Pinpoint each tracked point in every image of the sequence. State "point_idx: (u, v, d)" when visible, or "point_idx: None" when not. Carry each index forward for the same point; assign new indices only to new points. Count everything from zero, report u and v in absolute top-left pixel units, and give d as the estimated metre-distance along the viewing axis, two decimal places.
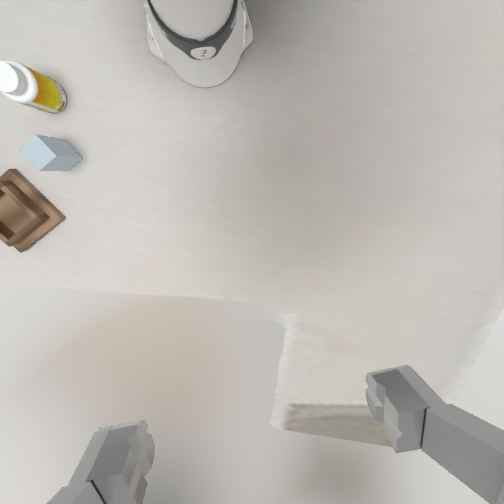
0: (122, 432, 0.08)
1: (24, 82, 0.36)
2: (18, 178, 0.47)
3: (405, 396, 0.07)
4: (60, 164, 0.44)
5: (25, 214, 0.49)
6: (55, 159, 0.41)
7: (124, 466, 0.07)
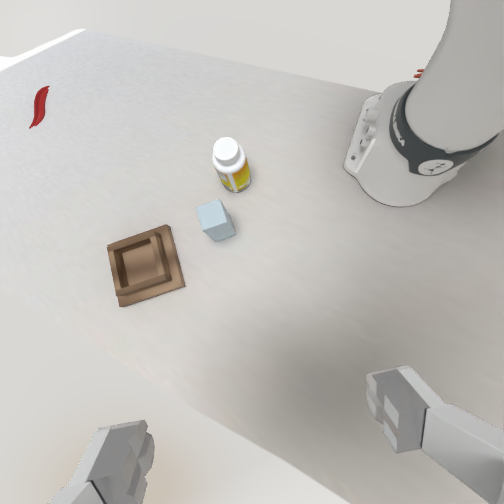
0: (122, 432, 0.08)
1: (237, 157, 0.38)
2: (168, 234, 0.45)
3: (405, 396, 0.07)
4: (218, 232, 0.40)
5: (151, 269, 0.44)
6: (222, 225, 0.38)
7: (124, 466, 0.07)
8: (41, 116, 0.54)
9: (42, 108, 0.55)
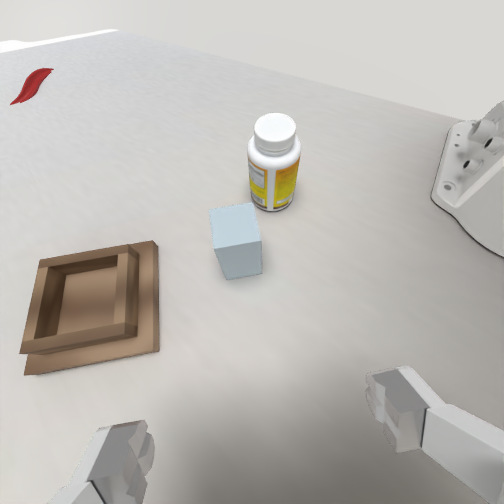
0: (122, 432, 0.08)
1: (291, 145, 0.23)
2: (151, 256, 0.27)
3: (405, 396, 0.07)
4: (238, 261, 0.23)
5: (106, 310, 0.25)
6: (251, 245, 0.21)
7: (124, 466, 0.07)
8: (30, 94, 0.43)
9: (35, 87, 0.44)
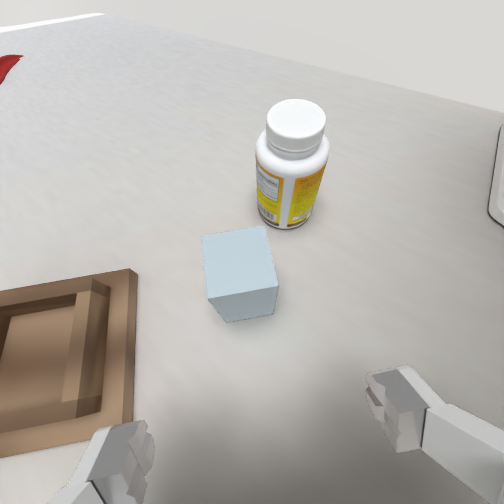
0: (122, 432, 0.08)
1: (318, 144, 0.17)
2: (127, 291, 0.20)
3: (405, 396, 0.07)
4: (242, 307, 0.16)
5: (61, 370, 0.18)
6: (263, 291, 0.14)
7: (124, 466, 0.07)
8: None
9: (1, 75, 0.37)
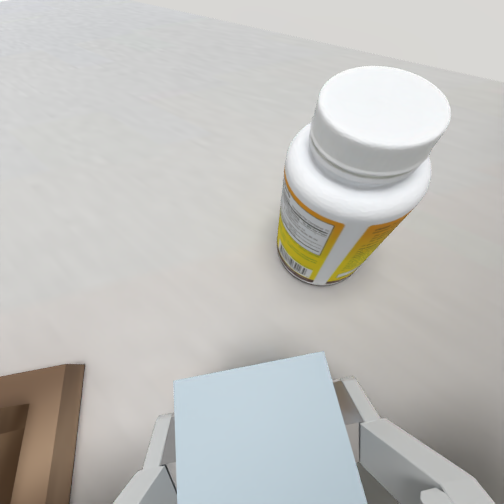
0: None
1: None
2: (57, 410, 0.12)
3: (342, 410, 0.07)
4: None
5: None
6: None
7: None
8: None
9: None
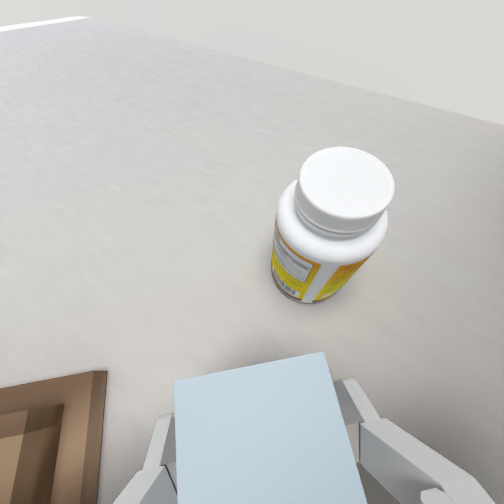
0: None
1: None
2: (87, 409, 0.14)
3: (342, 409, 0.07)
4: None
5: None
6: None
7: None
8: None
9: None
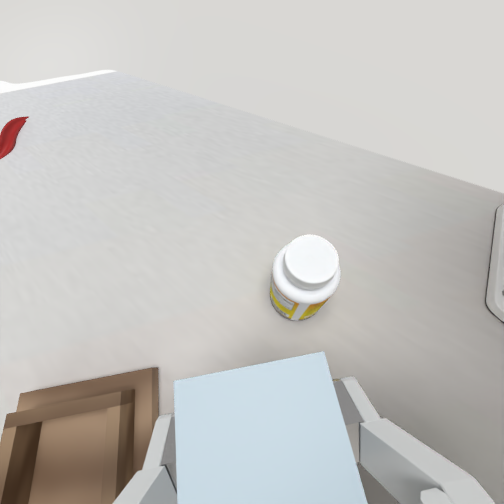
0: None
1: (331, 277, 0.18)
2: (150, 392, 0.22)
3: (342, 409, 0.07)
4: None
5: (92, 479, 0.19)
6: None
7: None
8: (8, 149, 0.38)
9: (12, 140, 0.39)
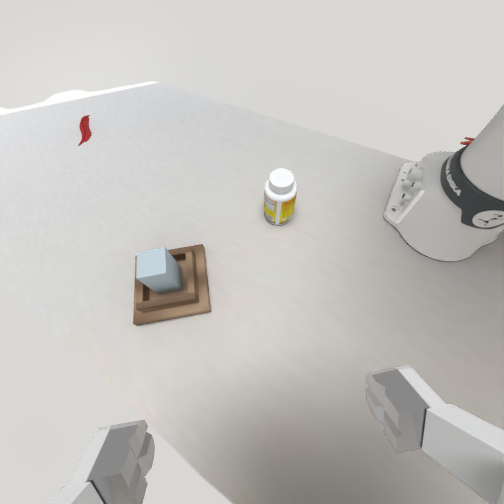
0: (122, 432, 0.08)
1: (291, 187, 0.39)
2: (202, 254, 0.43)
3: (405, 396, 0.07)
4: (159, 284, 0.36)
5: None
6: (161, 275, 0.33)
7: (124, 466, 0.07)
8: (89, 135, 0.59)
9: (88, 129, 0.60)
